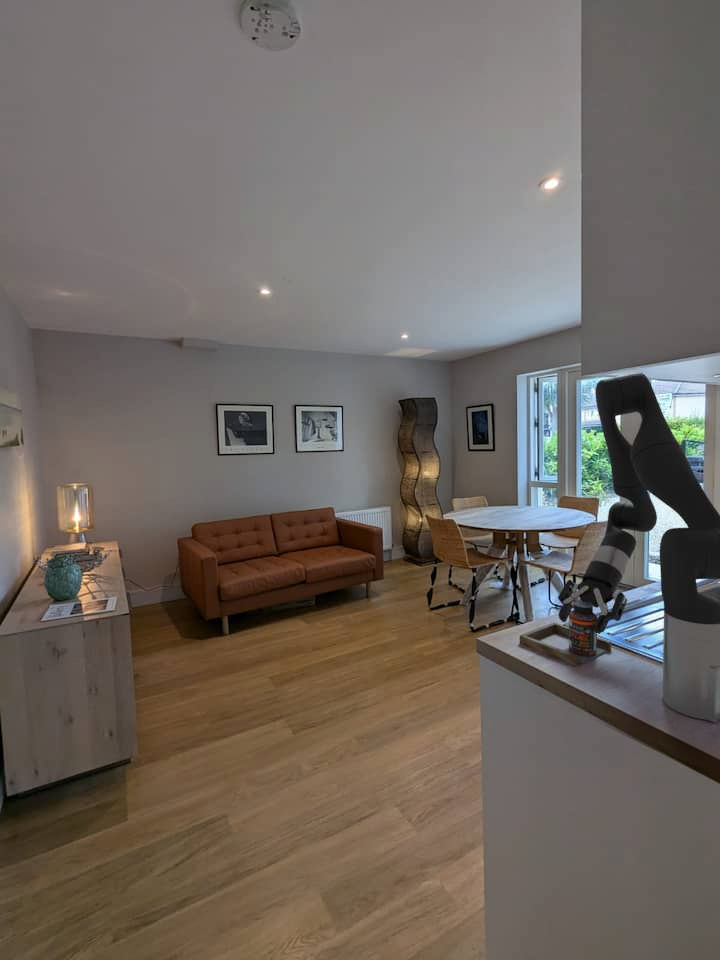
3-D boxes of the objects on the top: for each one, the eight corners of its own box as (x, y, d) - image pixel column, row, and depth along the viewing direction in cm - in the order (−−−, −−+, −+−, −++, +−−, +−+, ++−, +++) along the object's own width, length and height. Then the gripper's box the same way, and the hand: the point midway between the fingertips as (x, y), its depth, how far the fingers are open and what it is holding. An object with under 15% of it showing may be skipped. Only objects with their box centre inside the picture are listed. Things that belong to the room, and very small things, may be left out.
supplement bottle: (567, 654, 105) (567, 606, 105) (569, 643, 111) (569, 598, 110) (596, 659, 103) (597, 610, 102) (597, 648, 108) (597, 601, 107)
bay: (611, 649, 108) (611, 641, 108) (576, 666, 100) (576, 657, 100) (554, 629, 120) (554, 622, 120) (519, 643, 113) (519, 635, 113)
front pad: (606, 652, 107) (606, 650, 107) (581, 664, 101) (581, 662, 101) (582, 643, 112) (582, 641, 112) (557, 654, 106) (557, 652, 106)
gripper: (572, 554, 115) (544, 608, 110) (631, 565, 103) (602, 627, 98) (584, 571, 118) (557, 624, 113) (642, 584, 106) (615, 644, 101)
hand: (578, 625), depth 105 cm, fingers open, 8 cm apart
